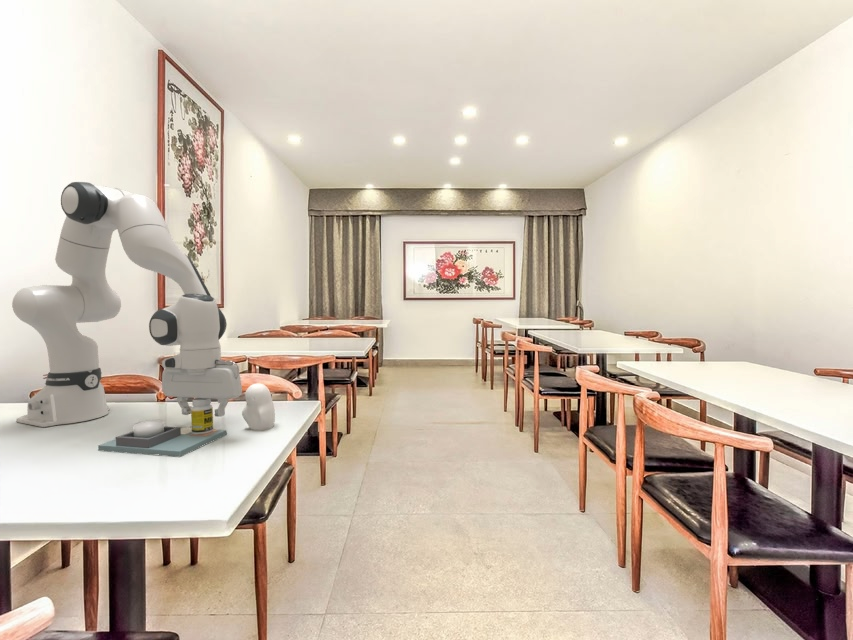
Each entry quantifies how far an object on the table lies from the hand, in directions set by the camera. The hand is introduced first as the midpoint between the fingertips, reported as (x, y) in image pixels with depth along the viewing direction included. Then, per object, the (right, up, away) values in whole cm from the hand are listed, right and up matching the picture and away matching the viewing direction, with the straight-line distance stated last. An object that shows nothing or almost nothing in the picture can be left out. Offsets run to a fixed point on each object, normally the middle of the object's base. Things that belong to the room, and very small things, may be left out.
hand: (203, 415), depth 103 cm
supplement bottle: (0, -5, 0) cm, 5 cm away
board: (-8, -6, -3) cm, 10 cm away
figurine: (+11, -5, +8) cm, 15 cm away
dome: (-10, -5, -5) cm, 12 cm away
